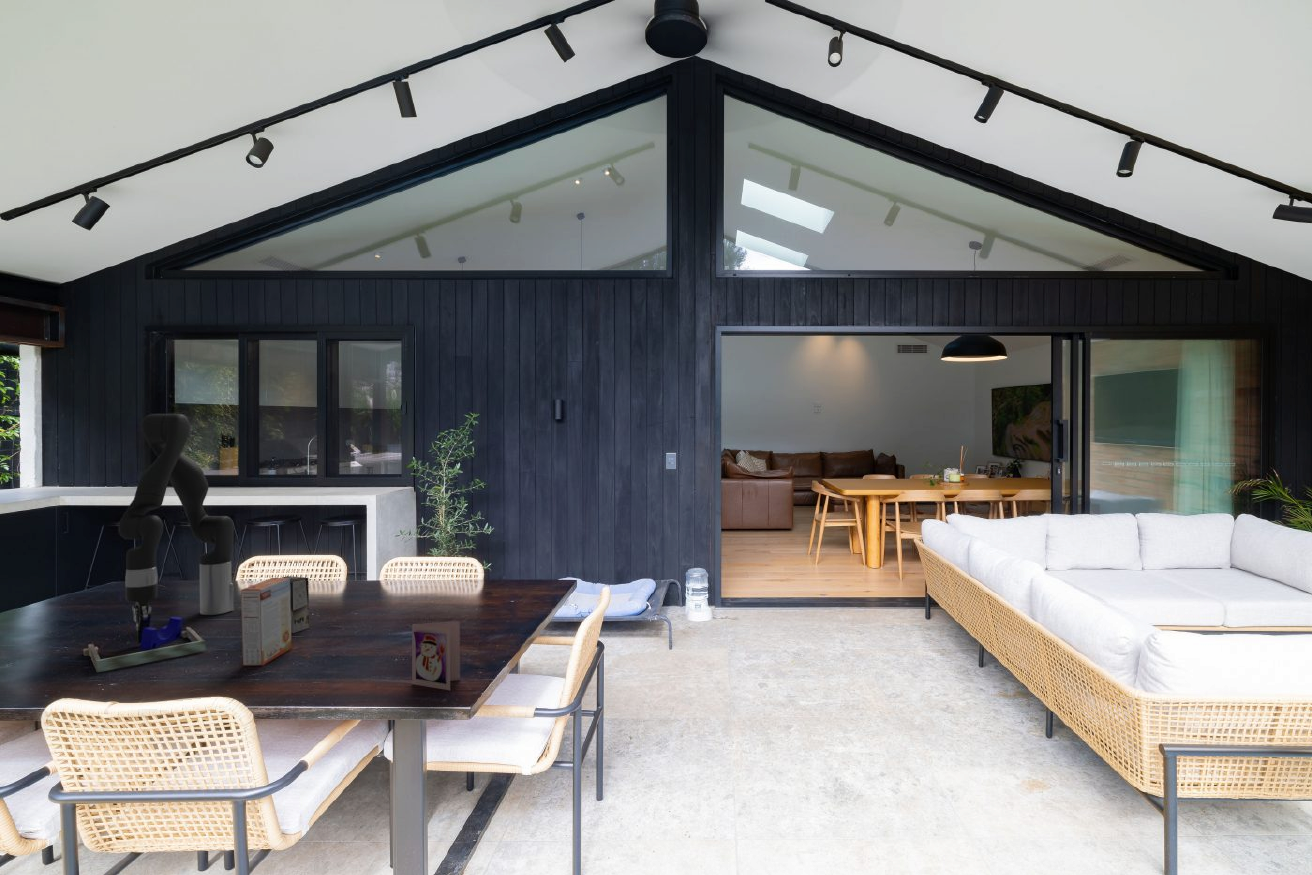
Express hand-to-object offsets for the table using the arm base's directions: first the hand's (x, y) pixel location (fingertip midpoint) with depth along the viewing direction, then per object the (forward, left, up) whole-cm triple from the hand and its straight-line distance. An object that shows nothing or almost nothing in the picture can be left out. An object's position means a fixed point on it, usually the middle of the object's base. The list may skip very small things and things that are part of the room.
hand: (142, 641), depth 198 cm
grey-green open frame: (0, +8, -1) cm, 8 cm away
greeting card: (-48, +88, -1) cm, 101 cm away
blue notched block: (-4, +1, -1) cm, 4 cm away
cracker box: (-23, +37, -1) cm, 44 cm away
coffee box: (-36, +13, -1) cm, 38 cm away
